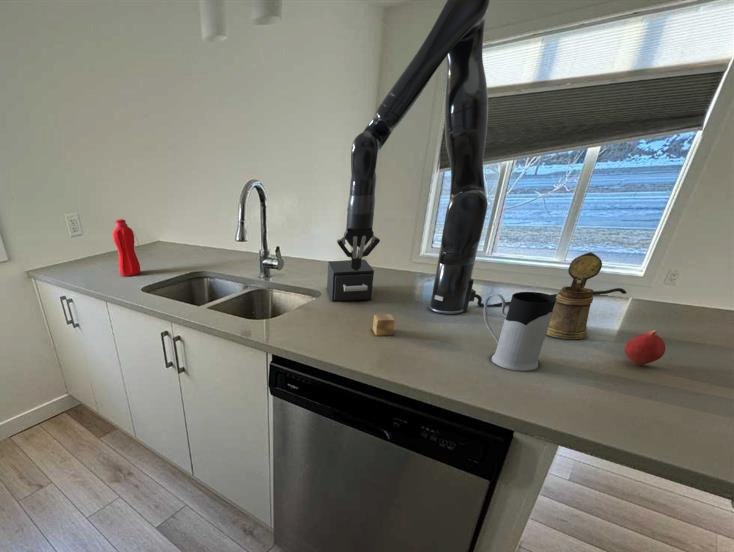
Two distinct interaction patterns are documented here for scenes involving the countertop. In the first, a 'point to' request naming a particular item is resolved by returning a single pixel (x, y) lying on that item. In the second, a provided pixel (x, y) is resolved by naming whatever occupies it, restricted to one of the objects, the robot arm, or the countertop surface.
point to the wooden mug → (575, 300)
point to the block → (383, 324)
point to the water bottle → (126, 249)
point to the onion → (645, 348)
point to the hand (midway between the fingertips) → (355, 269)
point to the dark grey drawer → (353, 286)
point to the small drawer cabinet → (345, 269)
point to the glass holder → (522, 329)
